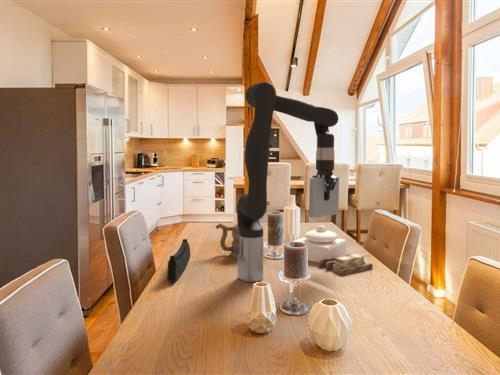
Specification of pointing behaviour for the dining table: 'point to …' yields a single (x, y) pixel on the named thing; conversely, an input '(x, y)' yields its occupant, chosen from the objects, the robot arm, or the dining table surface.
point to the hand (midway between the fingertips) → (324, 199)
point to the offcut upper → (349, 260)
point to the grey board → (322, 199)
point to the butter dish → (323, 244)
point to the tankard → (236, 239)
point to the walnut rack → (328, 266)
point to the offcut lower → (338, 268)
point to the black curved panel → (178, 262)
